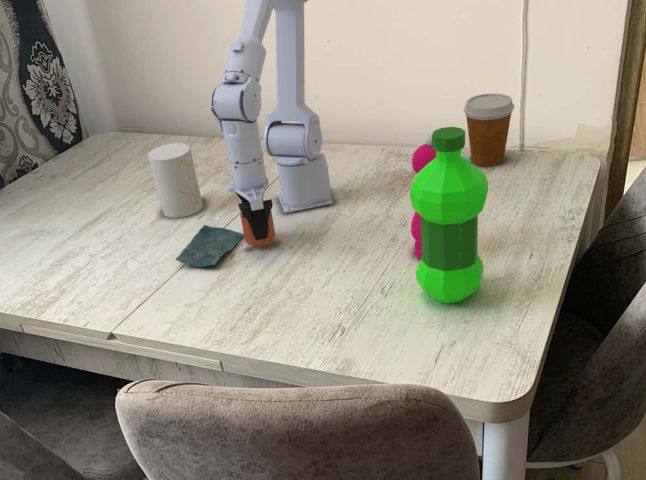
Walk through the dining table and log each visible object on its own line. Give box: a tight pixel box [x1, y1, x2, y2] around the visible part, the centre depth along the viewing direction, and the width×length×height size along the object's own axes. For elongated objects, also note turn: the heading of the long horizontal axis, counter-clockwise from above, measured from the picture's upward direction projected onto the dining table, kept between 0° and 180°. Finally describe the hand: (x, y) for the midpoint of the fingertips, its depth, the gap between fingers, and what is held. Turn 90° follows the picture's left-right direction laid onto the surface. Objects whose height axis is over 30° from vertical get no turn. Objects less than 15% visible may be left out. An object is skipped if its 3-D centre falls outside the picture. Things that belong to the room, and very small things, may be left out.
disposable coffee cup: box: [463, 93, 515, 167], centre depth 144 cm, size 10×10×12 cm
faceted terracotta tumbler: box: [239, 210, 276, 247], centre depth 128 cm, size 5×6×5 cm
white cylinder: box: [147, 142, 204, 219], centre depth 143 cm, size 8×8×12 cm
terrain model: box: [174, 224, 244, 268], centre depth 130 cm, size 13×8×2 cm, turn 161°
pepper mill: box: [410, 133, 437, 260], centre depth 115 cm, size 7×7×20 cm
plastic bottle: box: [409, 126, 489, 304], centre depth 103 cm, size 10×10×25 cm
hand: (258, 230), depth 129 cm, fingers closed on faceted terracotta tumbler, 5 cm apart
